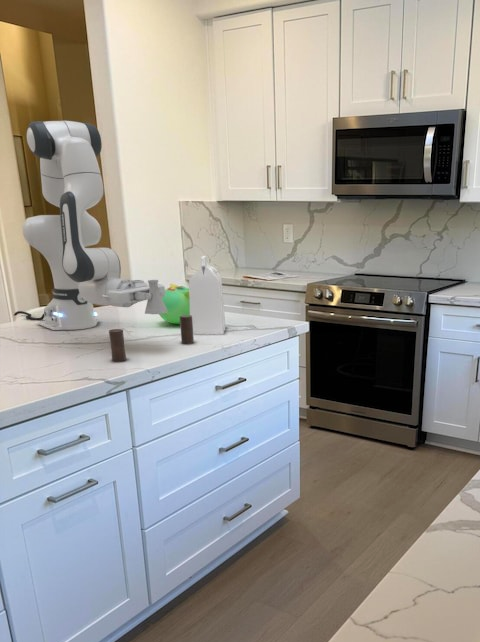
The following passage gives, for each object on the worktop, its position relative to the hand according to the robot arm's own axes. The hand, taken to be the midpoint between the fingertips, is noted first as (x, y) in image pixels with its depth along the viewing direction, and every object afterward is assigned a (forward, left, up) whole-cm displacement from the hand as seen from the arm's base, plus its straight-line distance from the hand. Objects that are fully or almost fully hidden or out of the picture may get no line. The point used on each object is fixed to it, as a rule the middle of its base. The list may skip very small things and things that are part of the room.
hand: (156, 295), depth 186 cm
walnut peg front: (-1, -15, -17) cm, 23 cm away
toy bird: (-26, +34, -18) cm, 46 cm away
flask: (-1, 0, -6) cm, 6 cm away
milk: (-9, +31, -18) cm, 37 cm away
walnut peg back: (-1, +13, -17) cm, 22 cm away
